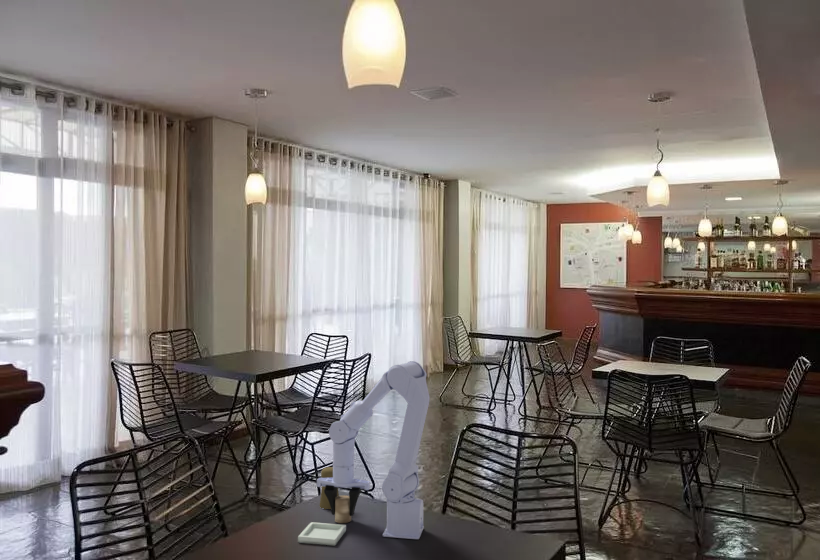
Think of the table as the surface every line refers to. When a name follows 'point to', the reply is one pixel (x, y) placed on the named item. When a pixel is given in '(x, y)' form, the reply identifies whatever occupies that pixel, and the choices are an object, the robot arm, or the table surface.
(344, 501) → the beech cylinder
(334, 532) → the sage tray
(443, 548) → the table surface
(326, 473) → the olive tapered cylinder
